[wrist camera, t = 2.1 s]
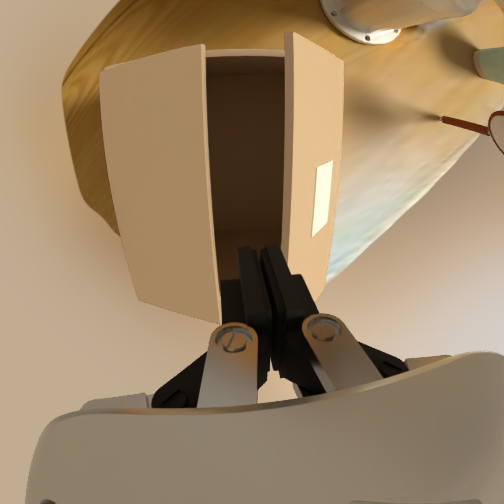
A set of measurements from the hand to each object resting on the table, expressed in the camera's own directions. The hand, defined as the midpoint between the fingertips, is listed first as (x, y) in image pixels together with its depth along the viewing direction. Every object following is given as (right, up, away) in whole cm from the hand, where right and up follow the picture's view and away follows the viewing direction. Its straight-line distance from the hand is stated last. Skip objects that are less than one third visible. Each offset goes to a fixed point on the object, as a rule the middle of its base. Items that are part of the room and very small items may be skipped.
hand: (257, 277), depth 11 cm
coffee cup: (+42, +35, +15) cm, 57 cm away
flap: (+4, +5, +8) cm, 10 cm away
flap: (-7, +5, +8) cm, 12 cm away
